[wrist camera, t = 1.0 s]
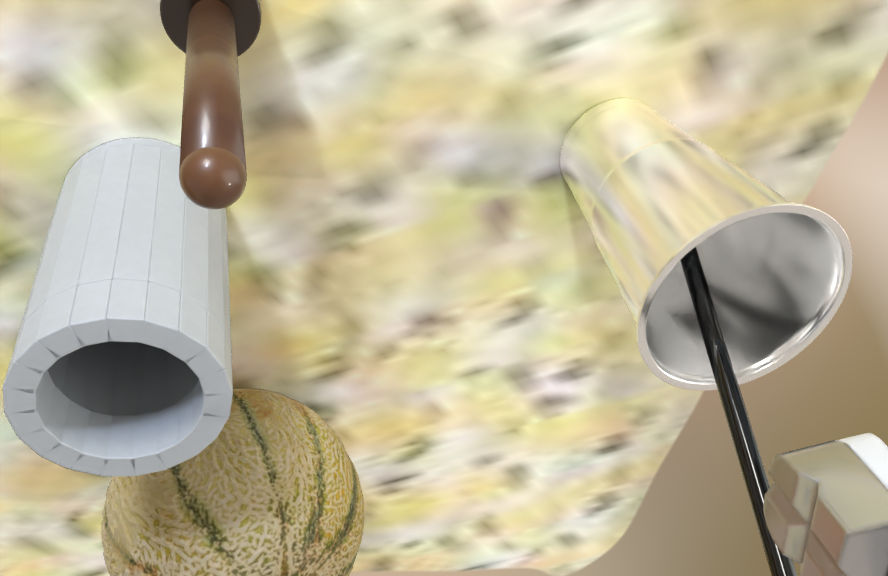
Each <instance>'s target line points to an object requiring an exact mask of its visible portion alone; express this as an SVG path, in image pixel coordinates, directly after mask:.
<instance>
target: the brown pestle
mask: <svg viewBox="0 0 888 576" xmlns="http://www.w3.org/2000/svg"><path fill="white" fill-rule="evenodd" d="M160 15H161V20H162V23H163V26H164V29H165V31H166V33H167V35H168V36H169V38H170V39H171V40H172V42H173V43H174V44H175V45H176V46H177V47H178V48H179V49H181V50H182V51H183V52H185V53H186V63H185V80H184V97H183V114H182V131H181V148H180V165H179V180H180V185H181V188H182V190H183V192H184V193H185V195H186V196H187V198H188V199H189V200H191V201H192V202H193V203H194V204H196V205H198V206H200V207H203V208H206V209H222V208H225V207H228V206H230V205H232V204H233V203H235V202H236V201H237V200H238V199H239V198H240V196H241V195H242V193H243V191H244V189H245V186H246V180H247V174H246V161H245V148H244V136H243V123H242V110H241V98H240V85H239V72H238V60H237V56H239V55H241V54H242V53H244V52H245V51H246V50H247V49H248V48H249V47H250V46H251V45H252V44H253V42H254V41H255V39H256V37H257V35H258V33H259V29H260V25H261V10H260V4H259V0H161V2H160Z"/></svg>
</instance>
